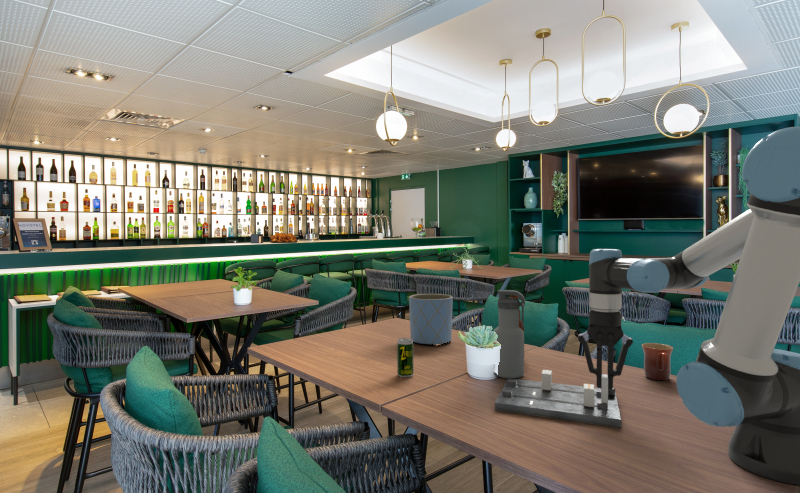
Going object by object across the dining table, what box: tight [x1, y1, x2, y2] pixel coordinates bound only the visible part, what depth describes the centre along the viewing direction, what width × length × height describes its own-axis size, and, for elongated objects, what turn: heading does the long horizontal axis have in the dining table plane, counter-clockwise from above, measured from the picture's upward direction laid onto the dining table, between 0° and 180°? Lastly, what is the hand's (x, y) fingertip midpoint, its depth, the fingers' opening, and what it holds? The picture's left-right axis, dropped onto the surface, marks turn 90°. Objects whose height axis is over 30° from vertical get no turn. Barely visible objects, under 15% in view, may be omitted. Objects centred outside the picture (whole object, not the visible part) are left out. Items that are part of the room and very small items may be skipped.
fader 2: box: [583, 383, 595, 407], centre depth 115 cm, size 4×2×5 cm, turn 158°
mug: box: [641, 342, 674, 381], centre depth 141 cm, size 12×9×10 cm
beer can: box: [396, 337, 415, 378], centre depth 147 cm, size 5×5×12 cm
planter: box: [408, 293, 454, 346], centre depth 194 cm, size 19×19×20 cm
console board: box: [494, 378, 622, 429], centre depth 122 cm, size 22×30×4 cm
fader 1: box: [541, 369, 553, 390], centre depth 127 cm, size 4×2×5 cm, turn 158°
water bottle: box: [493, 289, 526, 380], centre depth 147 cm, size 10×10×28 cm
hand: (604, 400), depth 114 cm, fingers closed
